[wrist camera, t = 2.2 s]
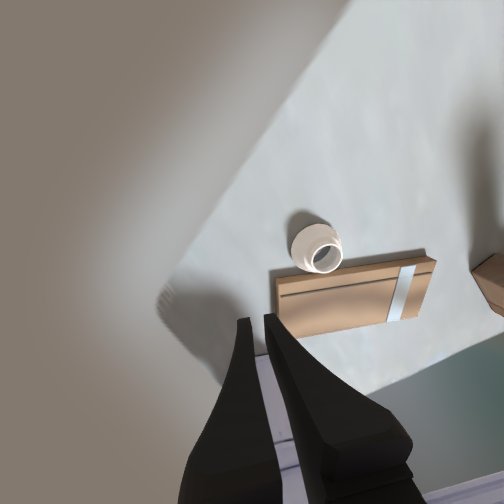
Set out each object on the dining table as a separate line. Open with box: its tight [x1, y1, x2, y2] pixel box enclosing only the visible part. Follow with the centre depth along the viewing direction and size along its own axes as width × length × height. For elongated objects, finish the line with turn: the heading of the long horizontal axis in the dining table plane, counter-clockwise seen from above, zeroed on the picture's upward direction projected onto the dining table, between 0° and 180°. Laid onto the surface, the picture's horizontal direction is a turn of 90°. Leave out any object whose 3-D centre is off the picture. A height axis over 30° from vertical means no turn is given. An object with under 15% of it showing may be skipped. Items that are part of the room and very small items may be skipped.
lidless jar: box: [291, 224, 343, 273], centre depth 20 cm, size 5×3×5 cm
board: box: [276, 256, 437, 339], centre depth 24 cm, size 8×18×1 cm, turn 94°
